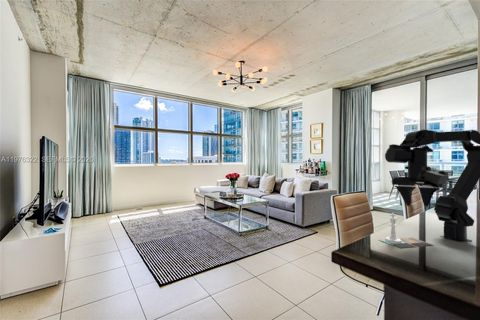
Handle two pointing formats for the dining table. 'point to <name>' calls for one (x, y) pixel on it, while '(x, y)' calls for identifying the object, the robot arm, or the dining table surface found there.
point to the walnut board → (409, 242)
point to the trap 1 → (404, 245)
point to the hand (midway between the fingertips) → (417, 206)
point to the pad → (391, 243)
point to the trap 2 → (421, 244)
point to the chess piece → (393, 232)
